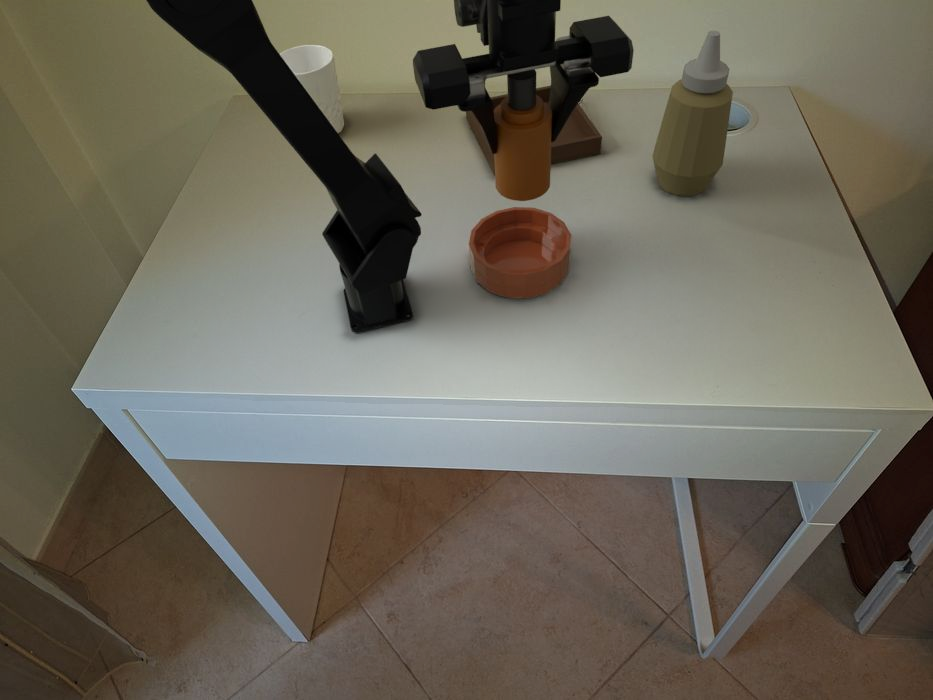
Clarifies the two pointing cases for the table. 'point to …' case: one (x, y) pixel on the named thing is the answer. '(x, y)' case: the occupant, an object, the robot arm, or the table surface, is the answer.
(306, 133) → the robot arm
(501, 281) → the bowl
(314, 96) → the white cup
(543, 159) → the bottle
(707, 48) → the squeeze bottle
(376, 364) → the table surface
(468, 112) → the tray
